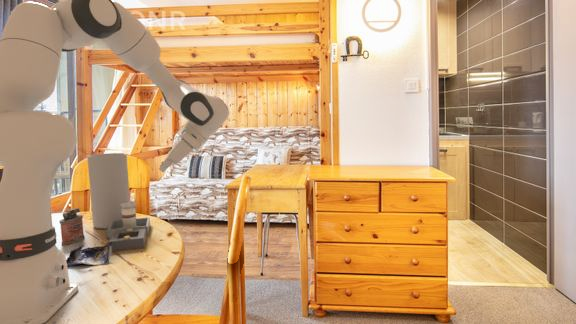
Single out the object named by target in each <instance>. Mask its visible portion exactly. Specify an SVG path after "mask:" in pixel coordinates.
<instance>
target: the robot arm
mask: <svg viewBox="0 0 576 324" xmlns="http://www.w3.org/2000/svg"><path fill="white" fill-rule="evenodd" d="M12 9H13V10H12V11H11V13H10V15H9V16H8V18H7V20H6V22H5V26H4V27H3V30H2V33H1V36H0V167H2V168H3V169H2V176H1V179H0V324H45V323H47V321H48V320H50V318H52V317H53V315H55V314H56V313H57V312H58V311H59V309H60V308H61V307H63V305H64V304H65V303H67V302H68V300H70V299H71V297H72V296H73V295H75V294H76V293H77V292H78V290H79V287H78V284H77V283H71V282H70V276H69V269H68V266H67V262H66V260H67V256H66V253H64V252H63V251H62V250H60V249H59V247H57V245H56V244H57V232H56V227H55V226H54V225H53V219H52V217H53V216H52V201H51V200H52V198H51V194H52V187H53V182H54V180H55V176H56V174H57V173H58V170H59V169H60V168H61V166H62V165H63V164H64V163H65V161H67V160H68V159H70V157H71V156H72V155H73V153H74V152H75V149H76V146H77V142H78V140H77V132H76V130H75V126H74V125H73V123H72V122H71V120H69V118H67V117H66V116H65V115H62V114H58V113H54V112H48V111H43V110H35V109H36V108H37V107H38V106H39V105H40V104H41V103H43V102H45V101H46V100H47V99H48V98H50V97H51V95H53V93H54V91H55V88H56V85H57V84H56V82H57V78H58V73H59V68H60V63H61V59H62V52H63V53H66V52H67V53H68V52H73V51H76V50H77V49H80V48H81V49H82V48H85V47H90V46H92V45H94V44H96V43H99V41H100V42H102V43H104V44H105V45H106V46H107V47H108V49H110V51H112V53H113V54H114V55H115V56H116V57H117V58H118V59H120V61H122V62H123V63H125V65H127V66H128V67H130V68H132V70H134V71H136V72H140V73H143V74H144V75H145V76H146V77H147V78H148V79H149V80H150V81H151V82H152V83H153V84H154V85H155V86H156V87H157V88H158V89H159V91H160V92H161V95H162V98H163V99H164V102H165V104H166V105H167V106H168V107H169V108H170V109H172V110H173V111H175V113H176V112H177V114H179V115H180V116H182V117H183V118H184V119H186V120H188V121H187V123H185V124H184V125H183V127H182V128H181V129H179V131H178V132H177V133H176V134H177V135H178V137H177V138H176V141H177V142H176V144H175V145H174V146H173V147H172V148H171V149H170V150H169V151H168V153H167V157H166V158H165V159H164V161H162V163H161V164H160V166H159V168H158V170H159V171H160V172H161V173H165V172H166V171H167V169H169V168H170V167H171V166H172V165H173V164H174V165H177V164H179V163H180V162H181V161H182V160H183V159H185V158H186V157H187V156H188V155H189V154H190V153H193V151H194V150H195V151H197V152H198V151H199V150H200V149H201V148H202V147H203V146H204V145H205V144H206V143H207V141H208V140H209V139H210V137H211V136H212V135H213V134H214V133H217V132H218V130H219V129H220V128H222V126H223V125H224V123H225V122H226V121H227V119H228V117H229V115H230V110H229V107H228V106H227V104H226V102H224V101H223V100H222V99H221V98H220V97H218V96H213V95H212V96H211V95H209V94H206V93H204V92H201V91H199V90H198V89H197V88H195V87H193V86H191V85H190V84H189V83H187V82H186V81H184V80H181V79H178V78H177V77H175V75H174V74H172V72H171V71H170V70H169V69H168V67H166V66H165V64H164V63H163V62H162V61H161V59H160V57H161V52H162V51H161V47H160V45H159V43H158V42H157V40H156V38H155V37H154V35H153V34H152V33H151V32H150V31H149V29H148V28H147V27H146V26H145V25H144V24H143V23H142V22H141V21H140V20H139V19H138V18H137V17H136V16H135V15H134V14H133V13H132V12H130V11H129V10H128V9H127V8H125V6H123V5H121V3H119V2H117V1H114V0H59V1H57V2H56V3H54V4H52V5H51V6H50V7H49V6H47V5H45V4H42V3H39V2H37V1H36V2H34V1H25V2H24V1H23V2H21V3H18V4H17V5H16V6H15V7H14V8H12Z"/></svg>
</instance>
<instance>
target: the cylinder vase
mask: <svg viewBox="0 0 576 324" xmlns="http://www.w3.org/2000/svg"><path fill="white" fill-rule="evenodd" d="M86 157H87V168H88V179H89V191H90V193H89V194H90V203H91V217H92V226H93V227H94V228H95V229H101V230H102V229H103V230H104V229H105V230H107V229H108V227H109V226H110V224H111V222H112V221H115V220H122V209H121V204H120V203H122V202H126V201H131V197H130V183H129V172H128V171H129V169H128V155H127V153H122V152H121V153H120V152H119V153H115V152H114V153H98V154H90V155H87V156H86Z"/></svg>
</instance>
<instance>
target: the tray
mask: <svg viewBox="0 0 576 324" xmlns="http://www.w3.org/2000/svg"><path fill="white" fill-rule="evenodd" d="M150 219H151V217H150V216H149V217H138V218H137V217H136V224H137V227H129V228H122V227H123V222H122V220H115V221H112V222H111V224H110V226H109V227H108V229H106V236H107V240H110V239H111V237H112V235H113V233H114V232H119V231H127V229H132V230H139V229H146V236H149V234H150V227H151V220H150Z"/></svg>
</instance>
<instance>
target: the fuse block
mask: <svg viewBox="0 0 576 324" xmlns="http://www.w3.org/2000/svg"><path fill="white" fill-rule="evenodd" d="M146 240H147V235H146V229H139V230H132V229H127V231H119V232H114V233H113V235H112V237H111V239H109V242H112V252H111V253H113V252H120V251H121V252H122V251H130V250H131V251H132V250H138V249H140V250H141V249H145V246H146ZM109 242H108V243H109Z"/></svg>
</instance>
